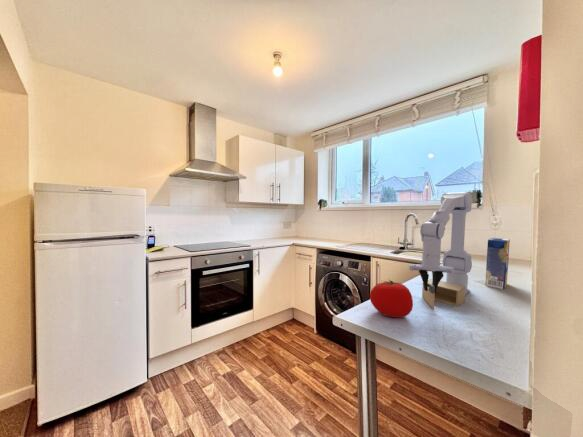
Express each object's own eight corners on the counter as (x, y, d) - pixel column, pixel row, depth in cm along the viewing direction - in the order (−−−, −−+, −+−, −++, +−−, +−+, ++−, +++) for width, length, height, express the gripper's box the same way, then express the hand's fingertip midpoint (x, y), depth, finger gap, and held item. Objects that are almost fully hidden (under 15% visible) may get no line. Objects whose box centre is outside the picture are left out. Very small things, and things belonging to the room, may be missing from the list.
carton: (430, 292, 106) (431, 278, 105) (464, 301, 96) (465, 286, 95) (422, 296, 101) (423, 282, 100) (457, 306, 91) (458, 290, 90)
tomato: (406, 327, 75) (408, 291, 74) (364, 314, 84) (365, 282, 83) (416, 313, 84) (418, 282, 84) (378, 303, 93) (379, 274, 93)
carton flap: (423, 296, 100) (424, 277, 99) (434, 309, 88) (435, 286, 87) (420, 296, 100) (421, 276, 99) (431, 308, 88) (432, 286, 88)
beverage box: (506, 283, 117) (509, 239, 116) (504, 289, 110) (507, 241, 108) (489, 280, 122) (491, 237, 121) (485, 285, 115) (487, 240, 113)
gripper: (411, 255, 87) (410, 292, 88) (458, 258, 83) (456, 296, 84) (408, 251, 94) (407, 285, 95) (450, 254, 90) (448, 289, 91)
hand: (429, 290), depth 90 cm, fingers closed
